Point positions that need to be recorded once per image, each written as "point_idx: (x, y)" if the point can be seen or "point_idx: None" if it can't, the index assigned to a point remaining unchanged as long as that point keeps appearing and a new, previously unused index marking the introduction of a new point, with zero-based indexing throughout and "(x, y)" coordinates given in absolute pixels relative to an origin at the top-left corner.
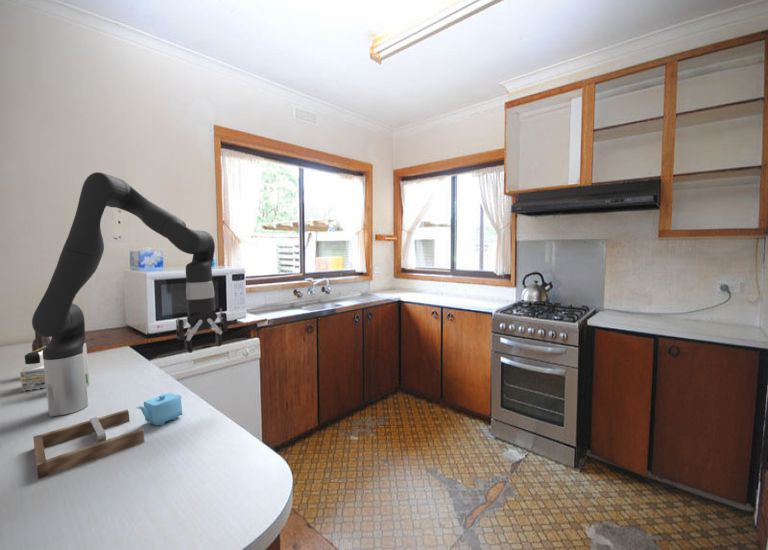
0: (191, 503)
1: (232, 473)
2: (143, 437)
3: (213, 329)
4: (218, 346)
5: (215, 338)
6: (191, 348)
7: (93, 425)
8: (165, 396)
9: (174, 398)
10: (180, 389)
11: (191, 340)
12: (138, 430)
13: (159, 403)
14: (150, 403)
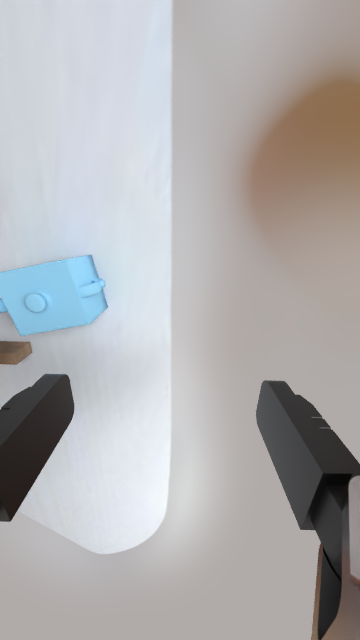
0: (72, 506)
1: (119, 496)
2: (25, 356)
3: (329, 627)
4: (256, 416)
5: (292, 427)
6: (53, 441)
7: None
8: (50, 287)
9: (71, 326)
10: (165, 31)
11: (8, 520)
12: (7, 358)
13: (31, 329)
14: (8, 308)
